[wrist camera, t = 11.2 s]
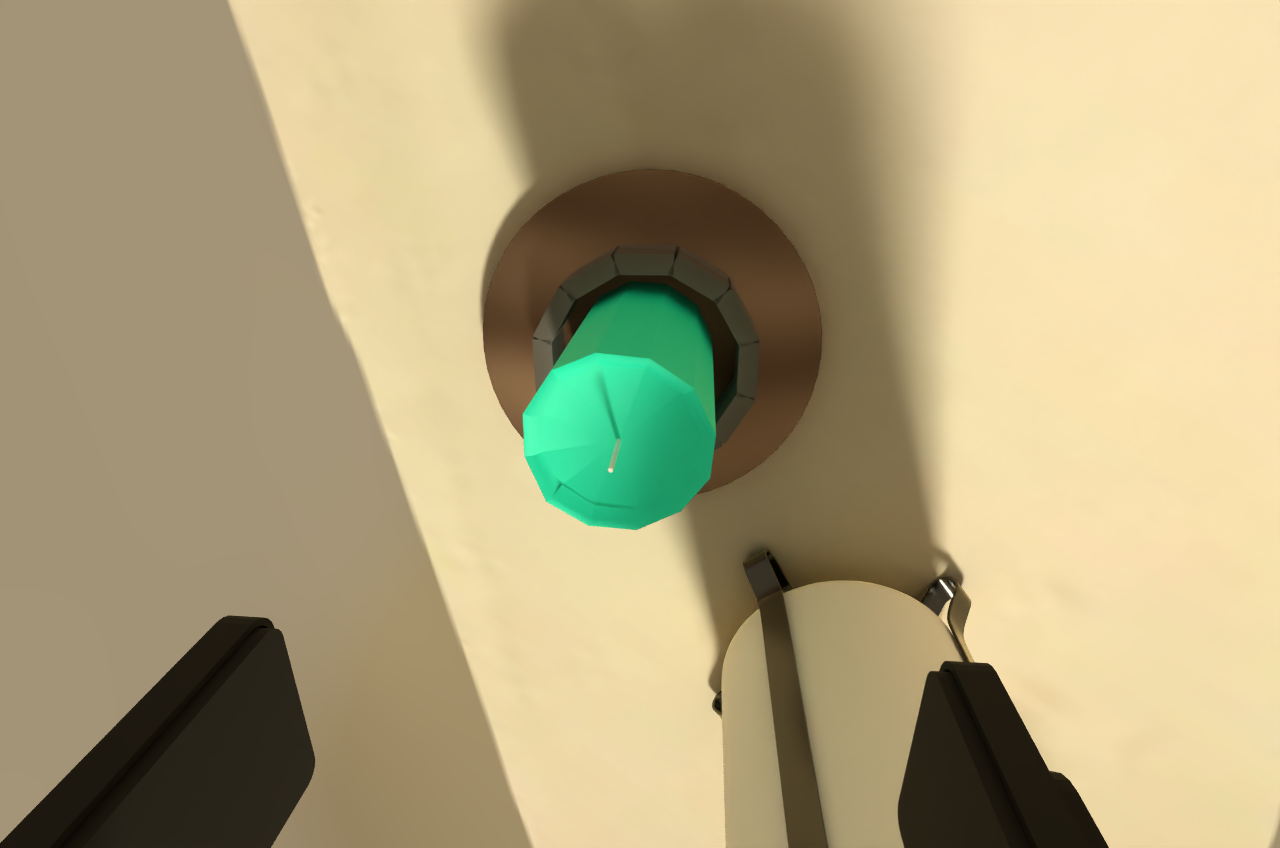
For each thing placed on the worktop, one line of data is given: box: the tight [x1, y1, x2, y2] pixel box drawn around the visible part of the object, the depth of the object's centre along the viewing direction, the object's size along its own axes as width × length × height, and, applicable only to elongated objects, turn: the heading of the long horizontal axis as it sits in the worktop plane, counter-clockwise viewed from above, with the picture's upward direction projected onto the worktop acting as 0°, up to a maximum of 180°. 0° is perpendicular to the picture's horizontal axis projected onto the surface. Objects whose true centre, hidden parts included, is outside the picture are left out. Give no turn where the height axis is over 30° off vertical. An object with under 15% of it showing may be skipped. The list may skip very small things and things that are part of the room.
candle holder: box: [483, 169, 822, 494], centre depth 29 cm, size 15×15×4 cm
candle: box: [523, 281, 716, 530], centre depth 25 cm, size 6×6×12 cm
